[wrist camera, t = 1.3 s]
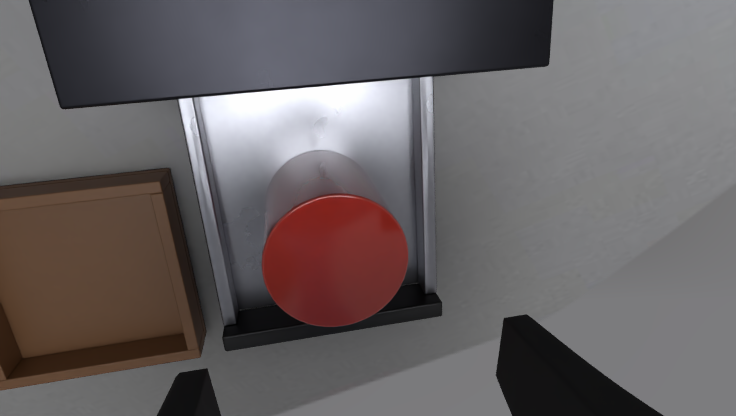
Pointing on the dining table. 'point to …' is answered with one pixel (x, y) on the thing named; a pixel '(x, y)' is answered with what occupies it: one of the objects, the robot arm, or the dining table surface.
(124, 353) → the tray
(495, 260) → the dining table surface
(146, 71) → the oven
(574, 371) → the robot arm
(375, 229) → the glossy red cylinder
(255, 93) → the tray
